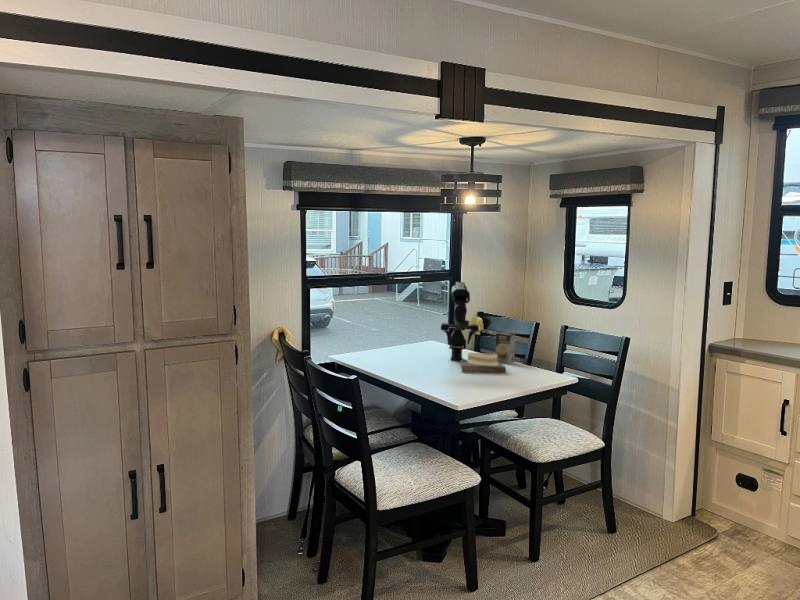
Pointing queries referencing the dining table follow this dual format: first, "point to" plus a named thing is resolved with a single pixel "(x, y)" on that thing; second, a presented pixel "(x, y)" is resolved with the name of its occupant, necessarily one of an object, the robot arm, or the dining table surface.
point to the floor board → (482, 368)
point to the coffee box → (505, 347)
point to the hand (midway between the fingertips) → (458, 343)
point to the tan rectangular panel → (482, 359)
